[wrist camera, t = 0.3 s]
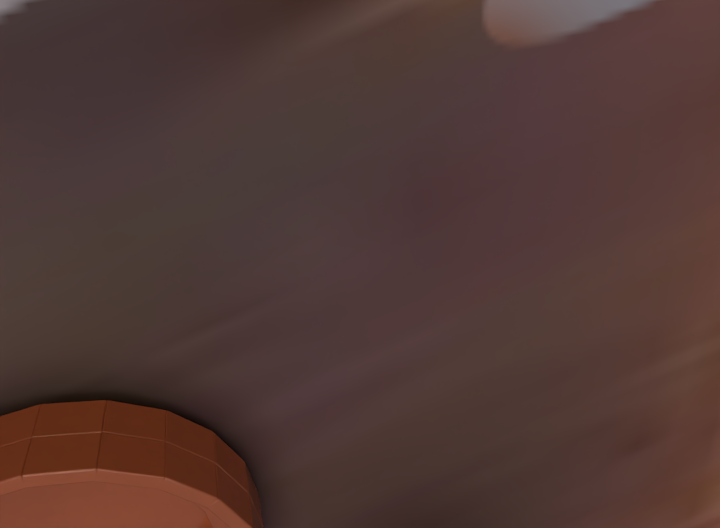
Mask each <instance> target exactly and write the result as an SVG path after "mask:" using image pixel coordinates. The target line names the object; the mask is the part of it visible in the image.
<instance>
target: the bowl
mask: <svg viewBox="0 0 720 528" xmlns="http://www.w3.org/2000/svg"><path fill="white" fill-rule="evenodd" d="M0 528H263V522H262V515H261V508H260V501H259V495H258V492H257V490H256V487H255V485H254V482H253V480H252V478H251V475H250V473H249V470H248V468H247V465H246V463H245V462H244V461H243V460H242V459H241V458H240V457H239V456H238V455H237V454H236V453H235V452H234V451H233V450H232V449H231V448H230V447H229V446H228V445H227V444H226V443H225V442H223V441H222V440H221V439H220V438H219V437H218V436H217V435H216V434H215V433H213V431H211V430H209V429H207V428H205V427H202V426H200V425H198V424H196V423H194V422H192V421H189V420H187V419H185V418H183V417H181V416H179V415H176V414H174V413H172V412H170V411H168V410H163V409H158V408H152V407H146V406H140V405H134V404H128V403H122V402H116V401H110V400H107V401H106V400H94V401H78V402H63V403H47V404H41V405H40V404H39V405H35V406H32V407H29V408H25V409H22V410H19V411H16V412H12V413H9V414H6V415H2V416H0Z"/></svg>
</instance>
